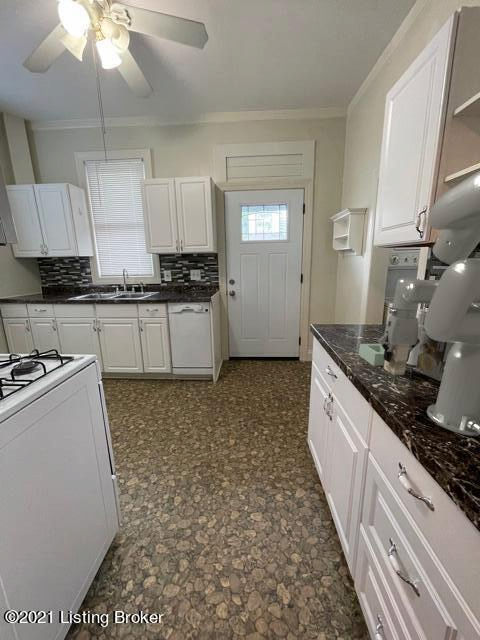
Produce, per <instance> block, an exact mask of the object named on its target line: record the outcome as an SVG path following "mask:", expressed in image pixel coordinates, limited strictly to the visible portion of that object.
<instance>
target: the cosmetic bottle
mask: <svg viewBox="0 0 480 640" xmlns="http://www.w3.org/2000/svg"><path fill="white" fill-rule="evenodd" d="M425 311H426V310H425V309H419V308H418V310H417V315H416V318H418V324H419V327H418V337H417V338H418V339H419V340H420V343H418V344H417V345H416V346H415V347H414V348H413V349H412V351H411V352H410V354H409V359H408V362H406V365H407V364H408V365H410V366H417V360H418V355H419V350H420V344H421V339H422V334H423V331H424V330H425V329H424V319H425V315H426V312H425Z"/></svg>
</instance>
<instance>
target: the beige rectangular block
mask: <svg viewBox="0 0 480 640" xmlns="http://www.w3.org/2000/svg"><path fill="white" fill-rule="evenodd" d="M389 345H390V344H389ZM409 346H410V344H399V345H398V346H393V348H392V350H391V352H392V356H391V361H390V362H387V361H386V360H385V363H384V366H383V370H385V371H387V372H388V373H389V374H391V375H392V376H404V375H405V373H406V372H405V371H406V368H407V367H406V366H407V363H406V362H407V357H408V352H409ZM388 347H389V346H388Z"/></svg>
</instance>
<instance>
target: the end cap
mask: <svg viewBox="0 0 480 640" xmlns="http://www.w3.org/2000/svg"><path fill="white" fill-rule="evenodd" d="M384 351H385V349H383V347H382V346H381V344H380V343H359V349H358V355H359V356H360V357H361V358H362V359H364V360H365V361H366V362H368V363H369V364H370V365H371V366H373V367H375V366H376V367H379V366H380V367H381V366H382V367H384V363H385V360H384Z"/></svg>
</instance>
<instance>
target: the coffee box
mask: <svg viewBox="0 0 480 640" xmlns="http://www.w3.org/2000/svg"><path fill="white" fill-rule="evenodd" d="M454 344H455V343H454V342H440V341H436V340H433V339H431V338H430V337H429V336H428V335H427V334H426V332H425V330H423V334H422V339H421V344H420V350H419V355H418V360H417V365H415V366H416V367H415V371H416V372H417V373H420V374H423V375H425V376H427V377H429V378H432V379H434V380H436V381H439V382H441V381H442V376H443V372H444V368H445V363H446V359H447V355H448V353H449V351H450V349H451V348H452V346H453V345H454Z"/></svg>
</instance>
